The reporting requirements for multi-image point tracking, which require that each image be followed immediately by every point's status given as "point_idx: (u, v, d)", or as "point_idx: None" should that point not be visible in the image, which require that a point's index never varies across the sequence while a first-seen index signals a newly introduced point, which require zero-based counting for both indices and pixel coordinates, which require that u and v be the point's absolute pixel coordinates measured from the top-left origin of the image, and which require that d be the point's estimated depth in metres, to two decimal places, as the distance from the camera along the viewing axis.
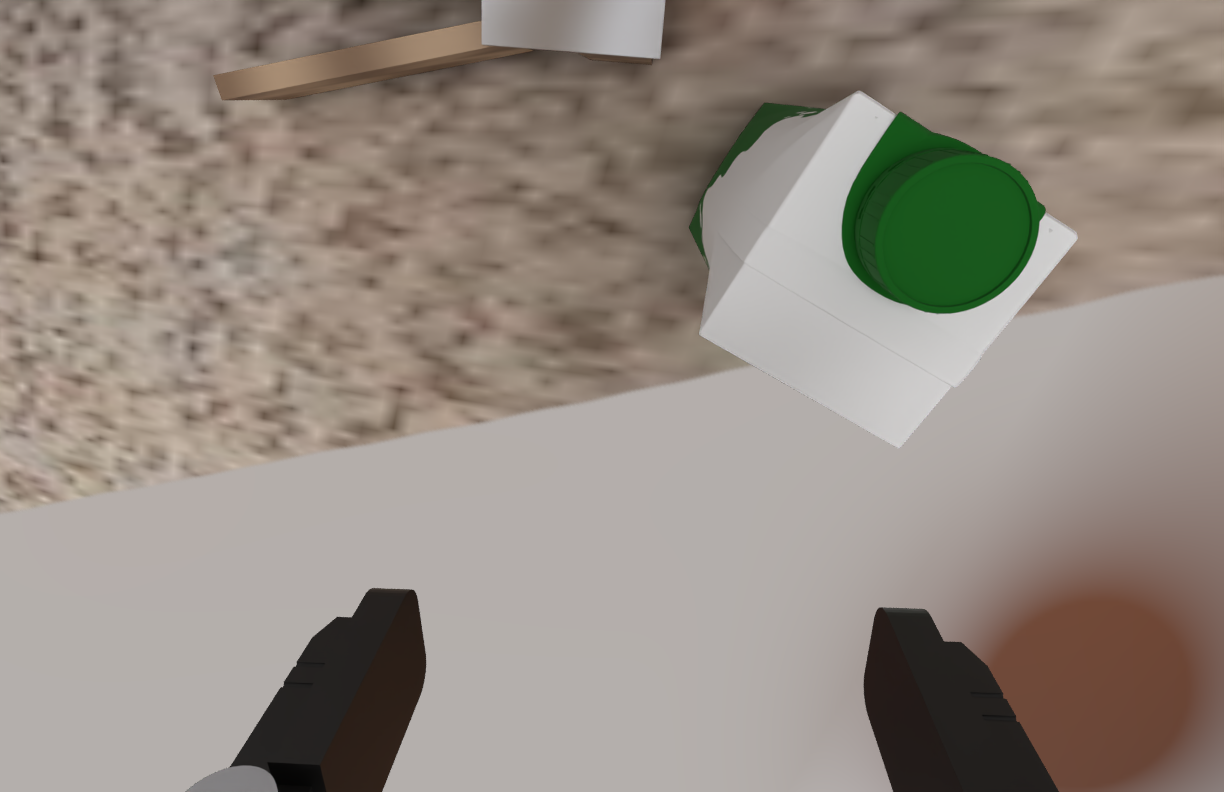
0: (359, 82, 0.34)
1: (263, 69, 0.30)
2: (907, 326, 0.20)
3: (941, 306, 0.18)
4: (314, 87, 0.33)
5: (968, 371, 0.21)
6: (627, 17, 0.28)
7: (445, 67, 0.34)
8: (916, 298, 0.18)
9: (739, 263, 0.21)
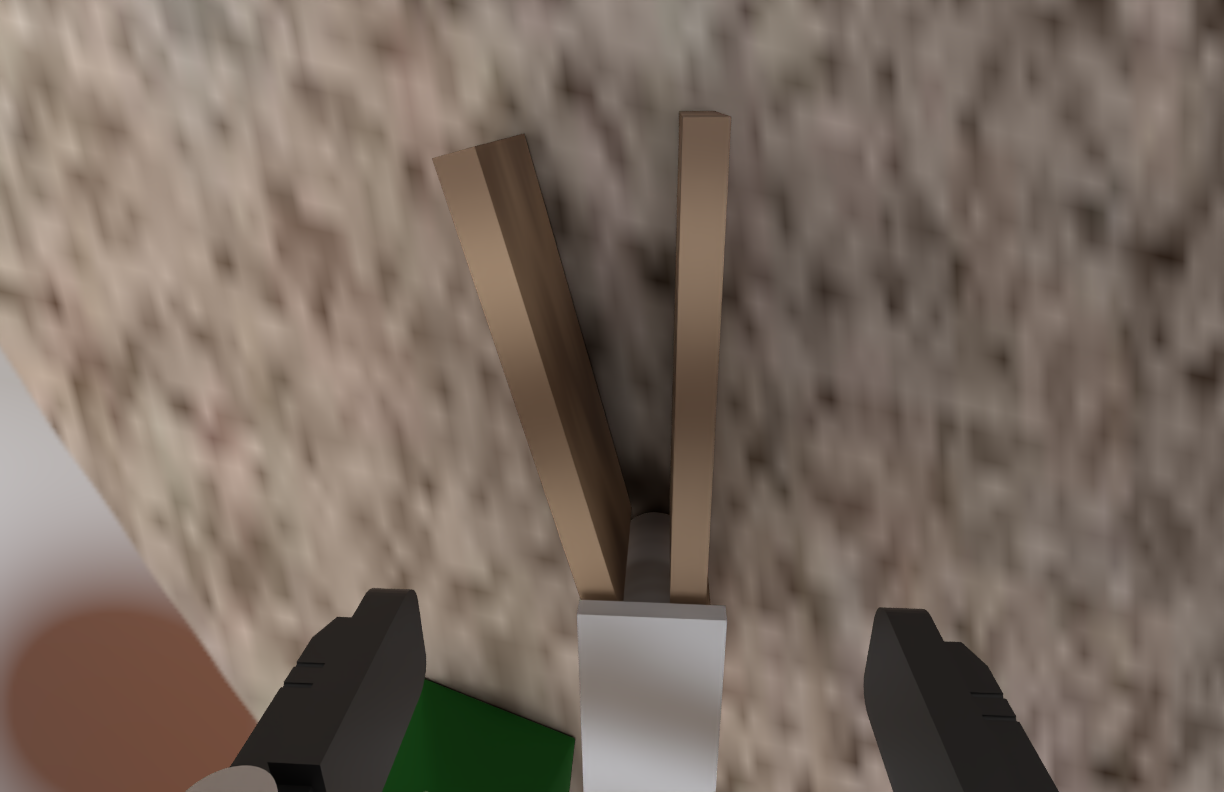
0: None
1: (499, 250, 0.16)
2: None
3: None
4: None
5: None
6: (628, 770, 0.21)
7: None
8: None
9: None
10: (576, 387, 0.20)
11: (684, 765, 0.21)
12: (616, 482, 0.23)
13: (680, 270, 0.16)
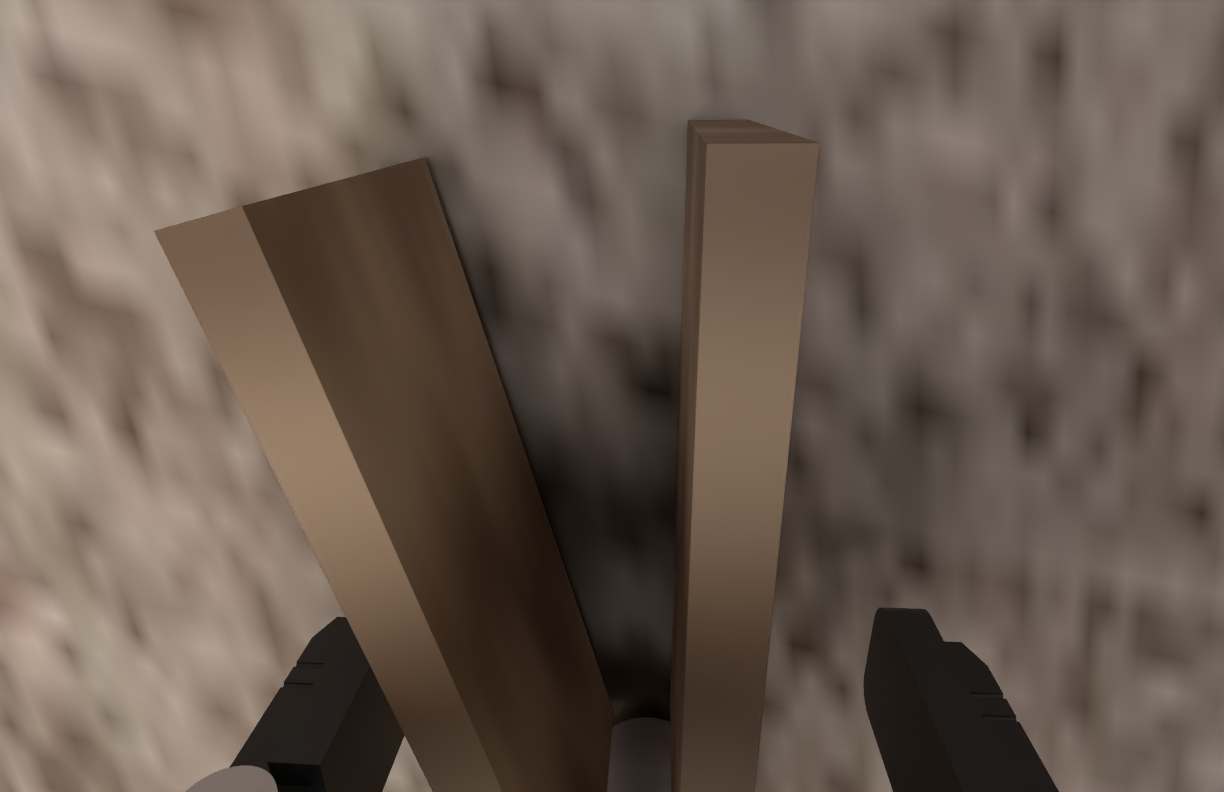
0: None
1: (321, 416, 0.08)
2: None
3: None
4: None
5: None
6: None
7: None
8: None
9: None
10: (513, 589, 0.12)
11: None
12: (587, 696, 0.15)
13: (697, 461, 0.08)
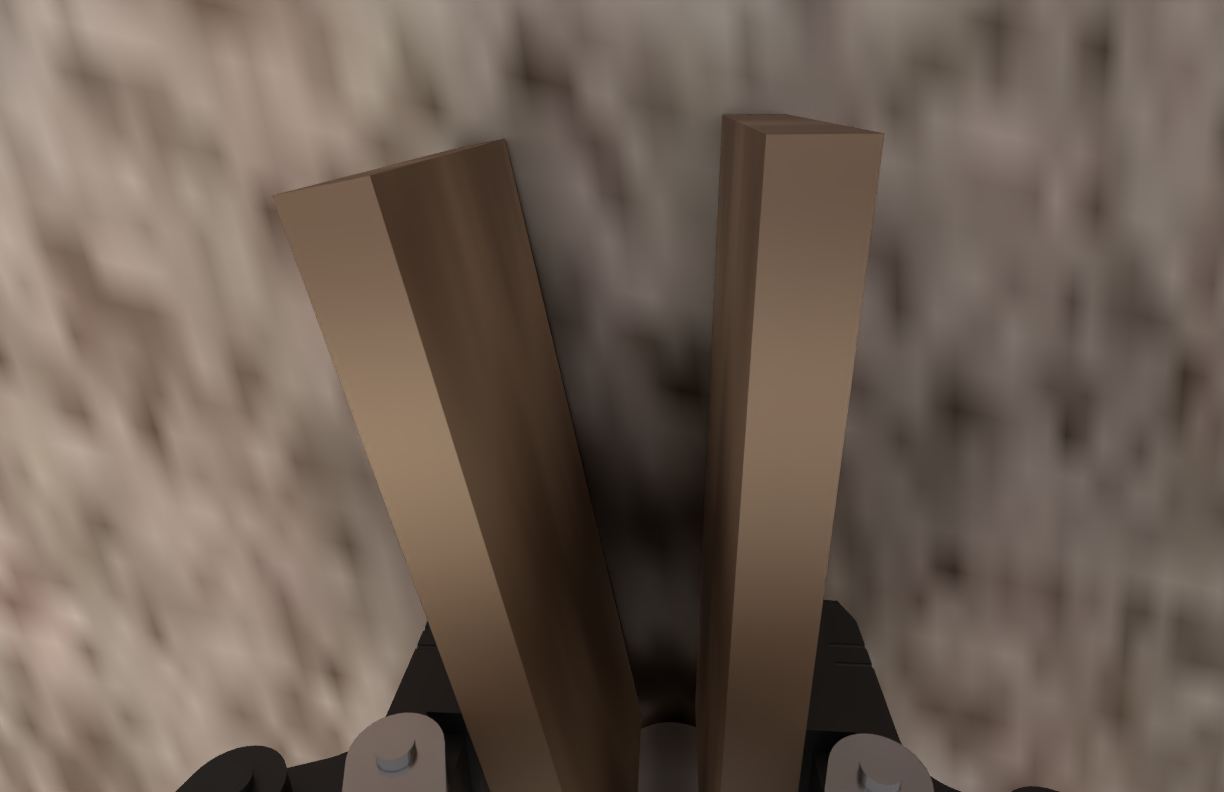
0: None
1: (424, 401, 0.07)
2: None
3: None
4: None
5: None
6: None
7: None
8: None
9: None
10: (570, 588, 0.12)
11: None
12: (623, 699, 0.15)
13: (747, 464, 0.07)
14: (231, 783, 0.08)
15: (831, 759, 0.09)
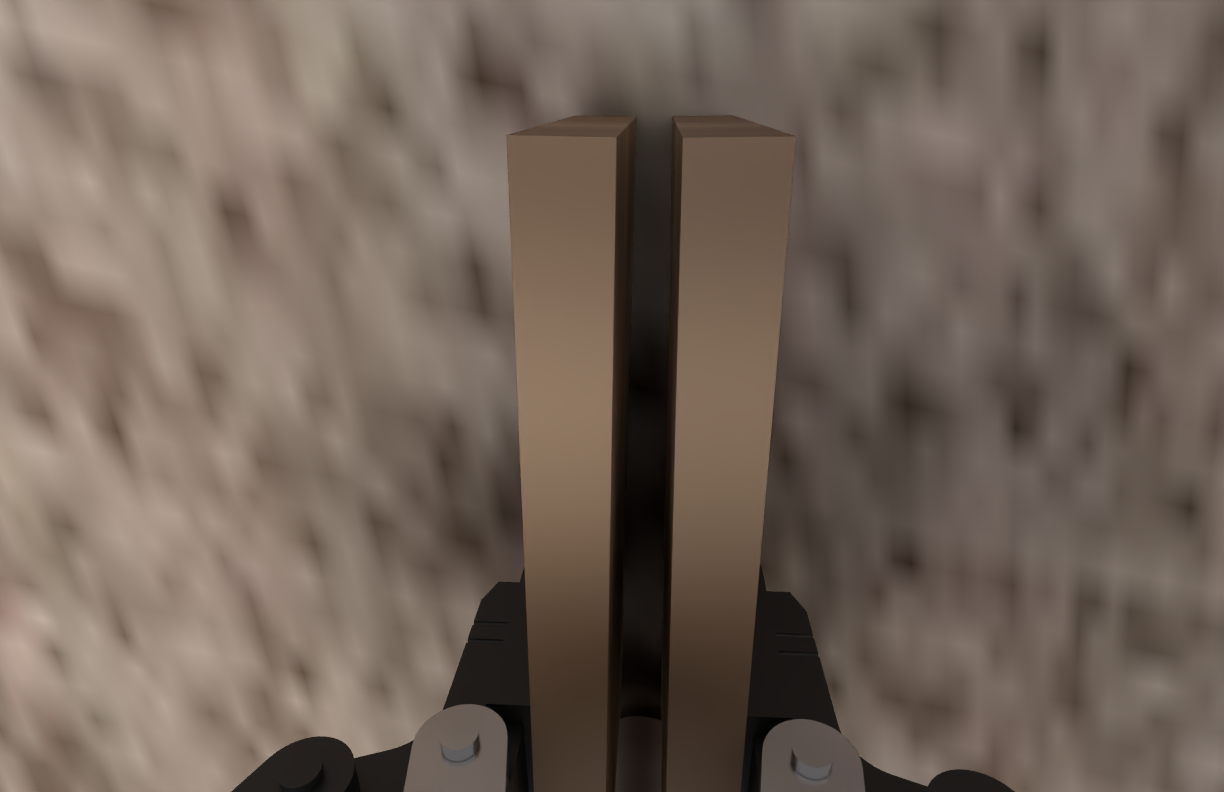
0: None
1: (596, 373, 0.07)
2: None
3: None
4: None
5: None
6: None
7: None
8: None
9: None
10: (618, 575, 0.12)
11: None
12: (619, 689, 0.15)
13: (678, 458, 0.08)
14: (301, 773, 0.08)
15: (766, 743, 0.09)
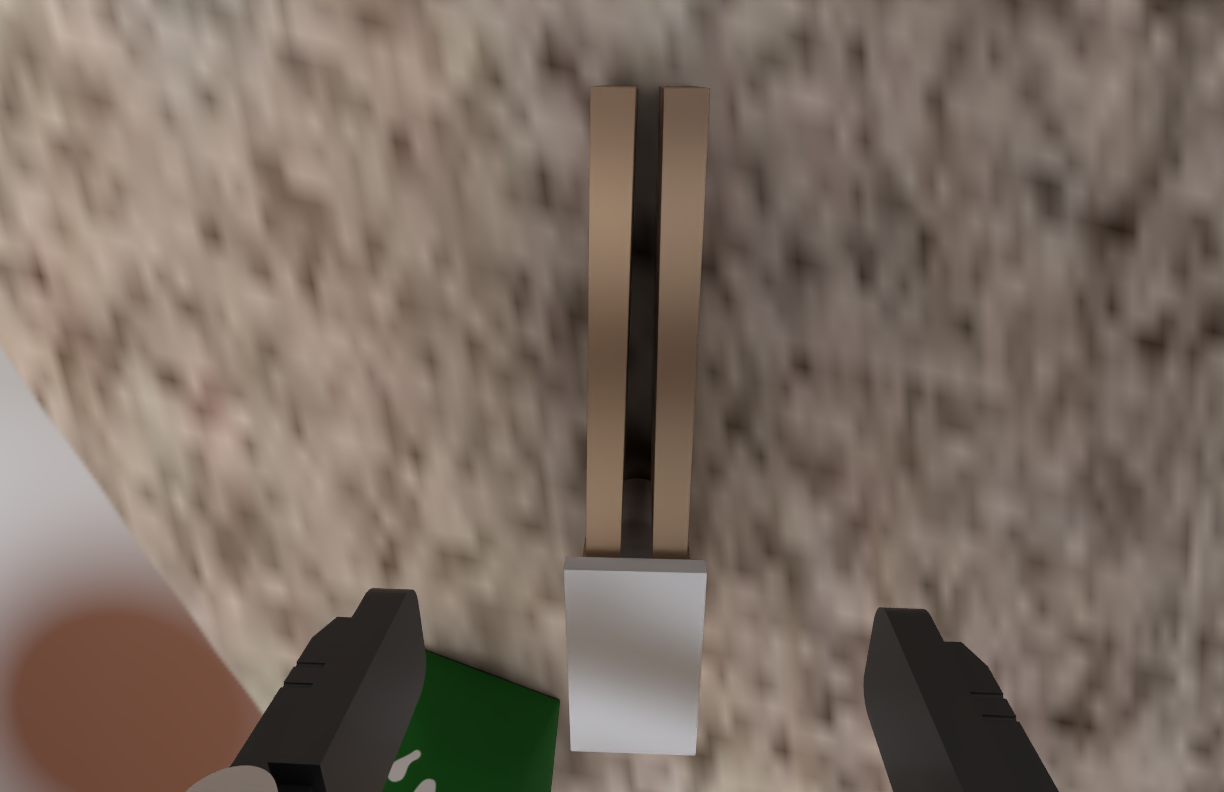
0: None
1: (625, 194, 0.16)
2: None
3: None
4: None
5: None
6: (613, 720, 0.22)
7: None
8: None
9: None
10: (628, 343, 0.21)
11: (666, 714, 0.22)
12: (625, 442, 0.24)
13: (662, 236, 0.17)
14: None
15: None
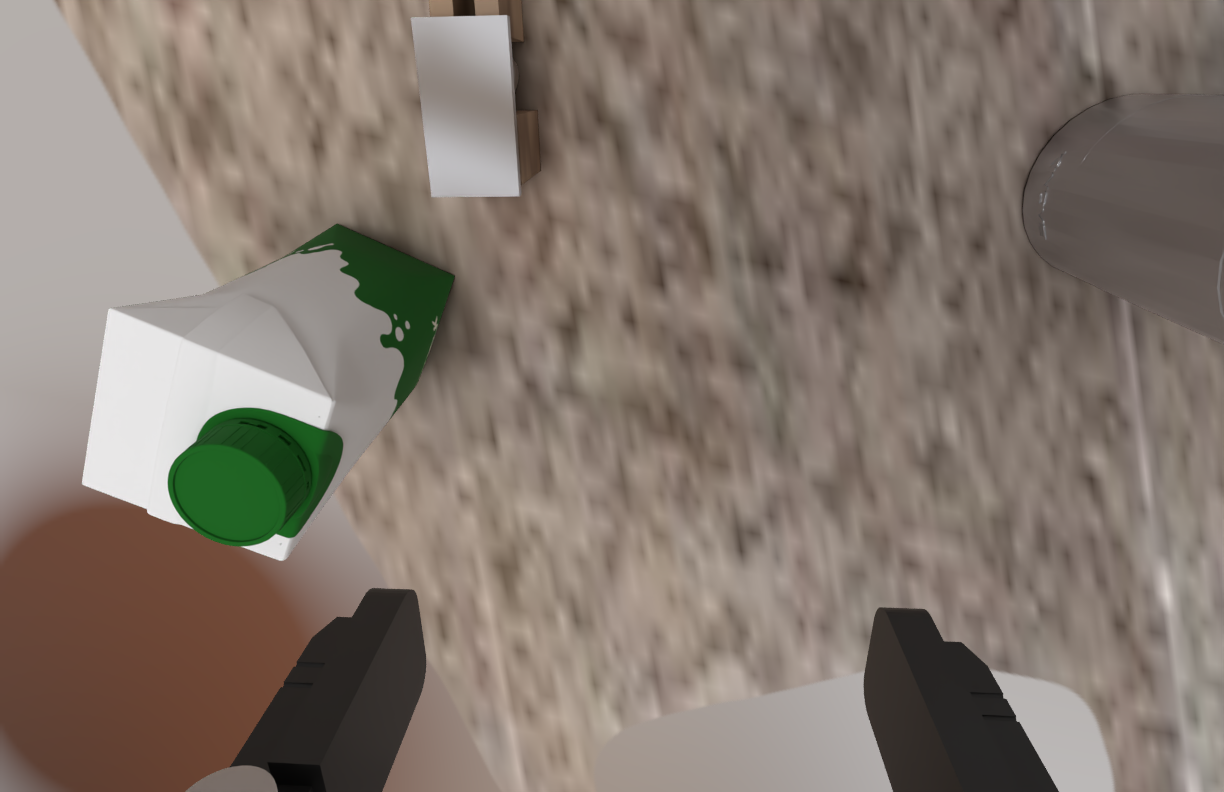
0: None
1: None
2: None
3: (176, 498, 0.23)
4: None
5: (162, 518, 0.26)
6: (458, 163, 0.31)
7: None
8: (175, 480, 0.23)
9: (186, 332, 0.24)
10: None
11: (494, 155, 0.31)
12: None
13: None
14: None
15: None
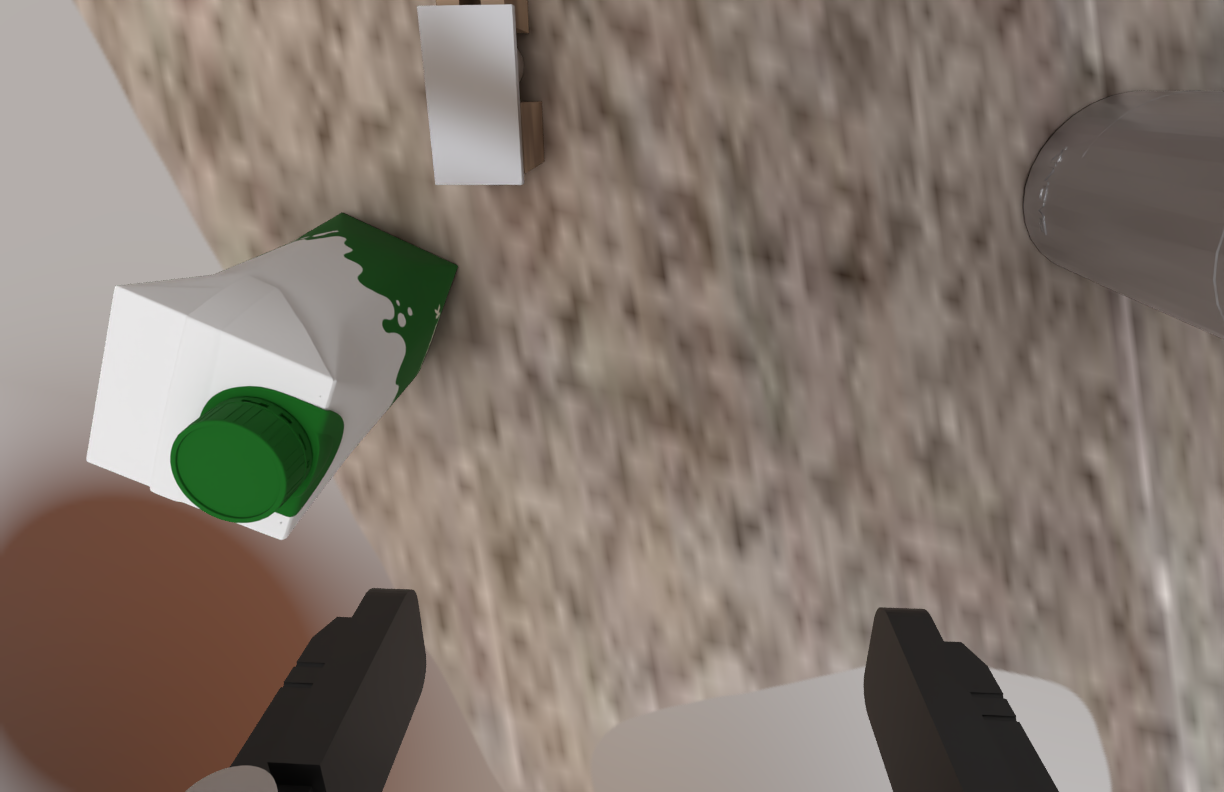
0: None
1: None
2: None
3: (178, 474, 0.24)
4: None
5: (165, 496, 0.27)
6: (462, 152, 0.32)
7: None
8: (178, 456, 0.24)
9: (191, 310, 0.24)
10: None
11: (498, 143, 0.31)
12: None
13: None
14: None
15: None
